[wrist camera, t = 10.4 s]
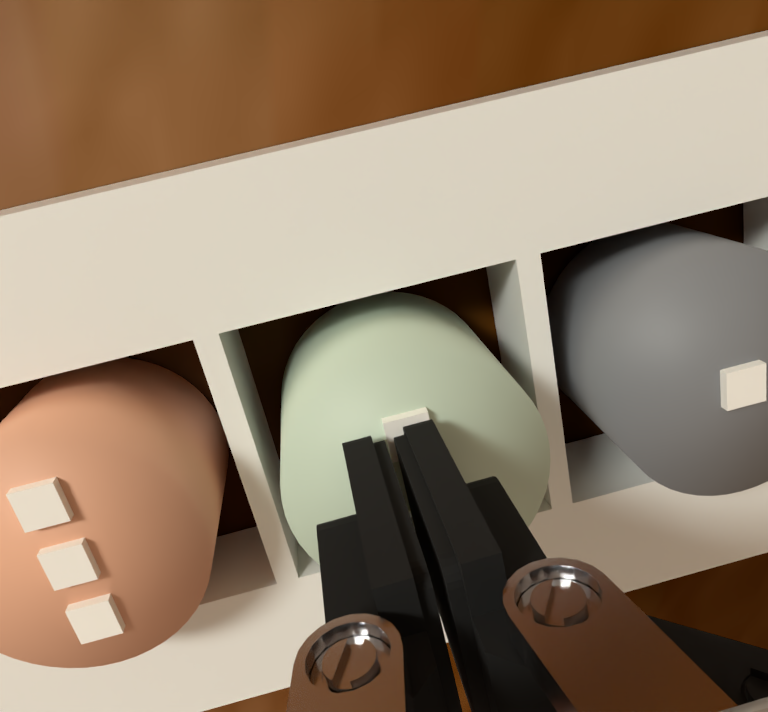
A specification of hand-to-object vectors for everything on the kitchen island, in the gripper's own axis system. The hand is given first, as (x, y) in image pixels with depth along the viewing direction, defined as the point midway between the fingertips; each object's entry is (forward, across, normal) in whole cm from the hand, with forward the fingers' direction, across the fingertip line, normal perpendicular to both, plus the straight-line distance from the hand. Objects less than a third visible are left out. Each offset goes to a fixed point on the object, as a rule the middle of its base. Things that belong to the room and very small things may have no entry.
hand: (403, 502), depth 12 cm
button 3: (+5, +6, 0) cm, 8 cm away
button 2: (+4, 0, 0) cm, 4 cm away
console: (+5, 0, 0) cm, 5 cm away
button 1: (+4, -7, 0) cm, 8 cm away
